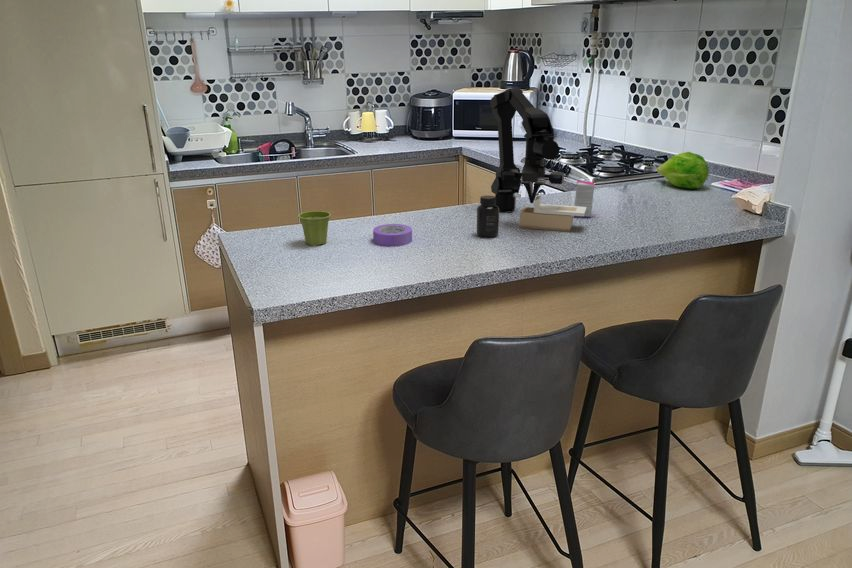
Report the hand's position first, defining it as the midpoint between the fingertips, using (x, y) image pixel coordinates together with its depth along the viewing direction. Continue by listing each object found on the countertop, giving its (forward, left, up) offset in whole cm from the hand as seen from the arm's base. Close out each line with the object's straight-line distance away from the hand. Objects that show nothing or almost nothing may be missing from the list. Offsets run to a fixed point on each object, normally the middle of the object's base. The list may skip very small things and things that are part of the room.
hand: (531, 203), depth 214 cm
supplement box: (+15, +17, -8) cm, 24 cm away
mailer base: (+5, 0, -7) cm, 9 cm away
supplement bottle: (-11, -15, -8) cm, 20 cm away
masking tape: (-37, -29, -8) cm, 48 cm away
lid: (+9, 0, -2) cm, 9 cm away
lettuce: (+48, +76, -8) cm, 90 cm away
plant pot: (-58, -38, -8) cm, 70 cm away
